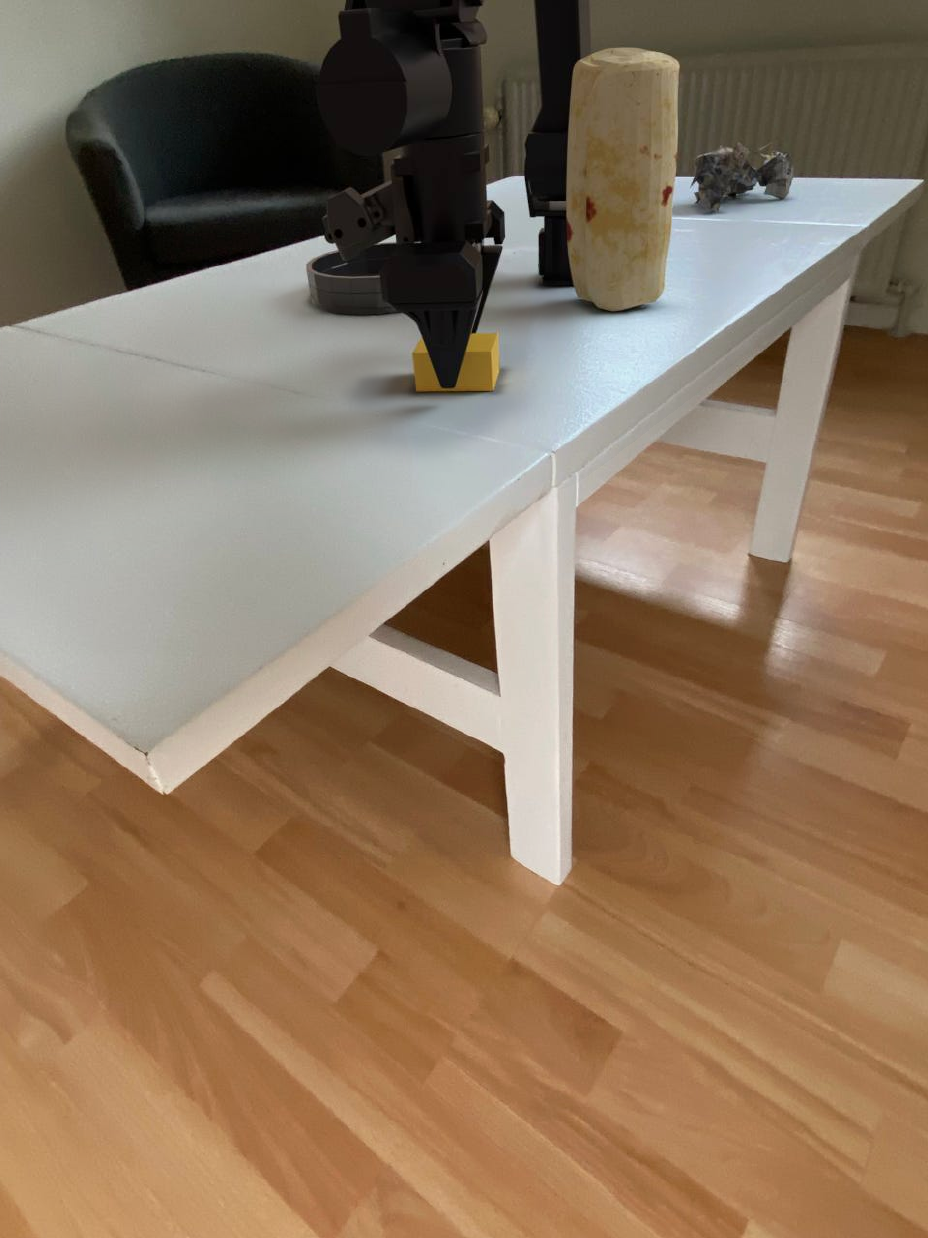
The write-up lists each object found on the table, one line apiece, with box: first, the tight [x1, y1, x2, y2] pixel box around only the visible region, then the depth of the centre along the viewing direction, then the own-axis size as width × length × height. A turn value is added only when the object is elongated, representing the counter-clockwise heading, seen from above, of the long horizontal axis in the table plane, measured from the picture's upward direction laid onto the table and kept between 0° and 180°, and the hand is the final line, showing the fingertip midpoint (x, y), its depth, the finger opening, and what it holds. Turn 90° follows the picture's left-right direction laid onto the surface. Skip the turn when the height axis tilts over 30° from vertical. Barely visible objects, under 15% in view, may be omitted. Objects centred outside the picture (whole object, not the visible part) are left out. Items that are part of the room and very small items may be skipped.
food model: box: [566, 47, 681, 313], centre depth 72 cm, size 10×7×20 cm
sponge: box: [411, 332, 500, 392], centre depth 63 cm, size 6×4×3 cm
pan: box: [305, 241, 421, 316], centre depth 85 cm, size 15×15×4 cm
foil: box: [689, 141, 795, 214], centre depth 111 cm, size 12×11×15 cm
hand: (457, 365), depth 63 cm, fingers open, 9 cm apart
